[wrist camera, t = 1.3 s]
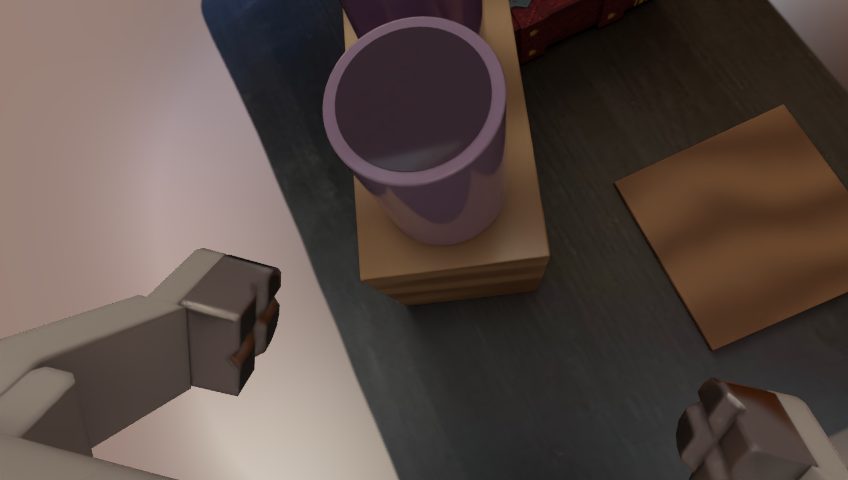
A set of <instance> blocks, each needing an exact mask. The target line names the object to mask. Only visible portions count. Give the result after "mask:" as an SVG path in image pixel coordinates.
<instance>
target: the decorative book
mask: <svg viewBox="0 0 848 480" xmlns="http://www.w3.org/2000/svg"><path fill="white" fill-rule="evenodd" d="M644 1H646V0H509V5H510V11H511V17H512V23H513V30H514V36H515V42H516V48H517V54H518V60H519V62H520V63H521V64H523V63H525V62H527V61H529V60H531V59H533V58H535V57H538V56H540V55H542V54H544V53H545V48H546V47H547V46H549V45H551V44H553V43H556V42H558V41H560V40H562V39H564V38H566V37H569V36H571V35H573V34H575V33H577V32H579V31H582V30H584V29H586V28H588V27H590V26H592V25H594V24H596V26H597V27H598V28H600V27H603V26H605V25H607V24H609V23H611V22H613V21H615V20H618V19H620V18H622V17H623V14H624V11H625V10H627V9H629V8H631V7H633V6H635V5H638V4H640V3H642V2H644Z"/></svg>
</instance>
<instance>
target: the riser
mask: <svg viewBox="0 0 848 480" xmlns="http://www.w3.org/2000/svg"><path fill="white" fill-rule="evenodd" d="M484 5H485V19H486V33H487V44H488V45H489V46H490V47H491V49H492V50H493V52H494V53H495V55H496V56H497V58H498V60H499V62H500V64H501V66H502V69H503V73H504V76H505V81H506V89H507V149H508V189H507V196H506V199H505V202H504V205H503V207H502V209H501V211H500V213H499V214H498V216H497V218H496V219H495V220H494V221H493V223H492V224H491V225H490V226H489V227H488V228H487V229H486V230H484V231H483V232H482V233H480V234H479V235H477V236H476V237H474V238H472V239H470V240H467V241H465V242H462V243H458V244H454V245H446V246H436V245H429V244H425V243H422V242H419V241H417V240H414V239H412V238H411V237H409V236H407V235H406V234H404V233H403V232H402V231H401V230H399V228H398V227H397V226H396V225H395V224H394V223H393V222H392V221H391V219H390V218H389V217H388V216H387V215H386V213H385V212H384V211H383V210H382V209H381V207H380V206H379V205H378V204H377V202H376V201H375V200H374V199H373V198H372V196H371V195H370V194H369V193H368V192H367V190H366V189H365V188H364V187H363V185H362V184H361V183H360V182H359V181H358V179H357V178H356V177H355V176H354V188H355V203H356V218H357V234H358V249H359V264H360V279H361V281H363V282H365V283H367V284H368V285H370V286H372V287H374V288H375V289H377V290H379V291H381V292H383V293H384V294H386V295H388V296H390V297H391V298H393V299H395V300H397V301H398V302H400V303H402V304H404V305H405V306H414V305H422V304H431V303H439V302H448V301H456V300H464V299H473V298H481V297H490V296H498V295H507V294H515V293H524V292H532V291H538V288H539V286H540V283H541V280H542V277H543V275H544V272H545V269H546V266H547V263H548V261H549V258H550V249H549V243H548V237H547V231H546V225H545V219H544V213H543V207H542V200H541V194H540V188H539V182H538V176H537V170H536V164H535V158H534V152H533V146H532V139H531V133H530V127H529V121H528V115H527V109H526V103H525V97H524V91H523V84H522V78H521V72H520V66H519V60H518V54H517V48H516V42H515V36H514V30H513V23H512V17H511V11H510V5H509V0H484ZM343 20H344V35H345V50H346V51H347V50H348V48H349V47H350V46H351V45H353V44H354V43H355V42H356V41H357V40H358V39H357V37H356V35H355V33H354V31H353V29H352V26H351V24H350V22H349V20H348V18H347V16H346V14H345V12H344V9H343Z"/></svg>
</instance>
